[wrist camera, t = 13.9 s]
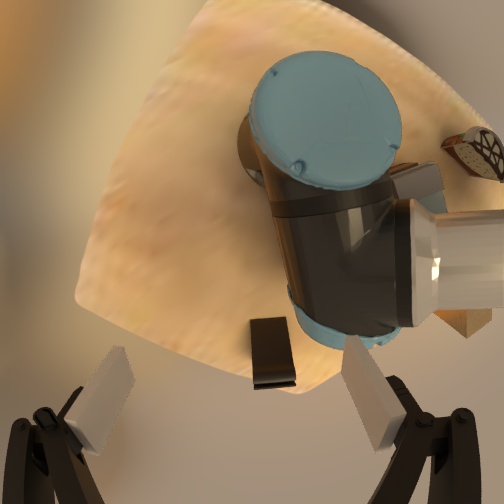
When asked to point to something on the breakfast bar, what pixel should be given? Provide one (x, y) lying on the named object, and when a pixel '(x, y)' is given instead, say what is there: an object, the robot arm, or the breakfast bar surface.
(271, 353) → the phone stand
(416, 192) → the beam
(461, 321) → the wooden block
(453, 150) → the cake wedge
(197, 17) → the breakfast bar surface
